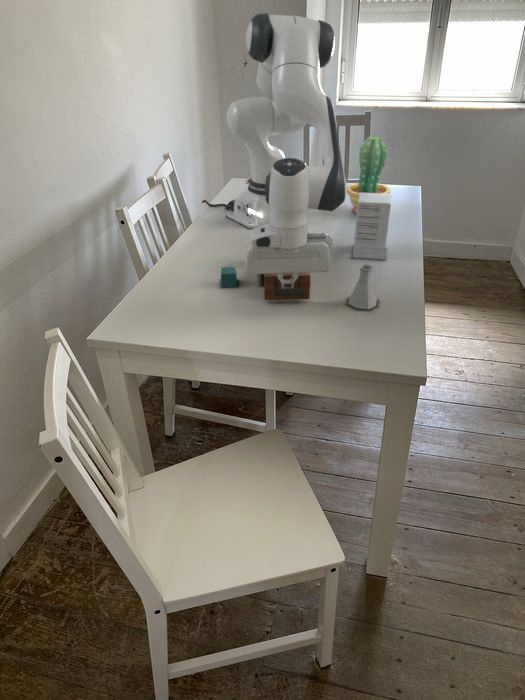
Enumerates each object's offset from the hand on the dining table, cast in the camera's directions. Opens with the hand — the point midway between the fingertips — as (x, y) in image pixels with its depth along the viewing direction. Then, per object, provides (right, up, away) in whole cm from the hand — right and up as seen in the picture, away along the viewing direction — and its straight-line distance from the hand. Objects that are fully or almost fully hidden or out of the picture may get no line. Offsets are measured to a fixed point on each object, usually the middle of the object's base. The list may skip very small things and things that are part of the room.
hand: (287, 287), depth 129 cm
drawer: (0, 0, +9) cm, 9 cm away
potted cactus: (+31, +34, +60) cm, 76 cm away
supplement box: (+26, +14, +30) cm, 42 cm away
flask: (+19, -3, +5) cm, 20 cm away
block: (-15, +3, +14) cm, 21 cm away
